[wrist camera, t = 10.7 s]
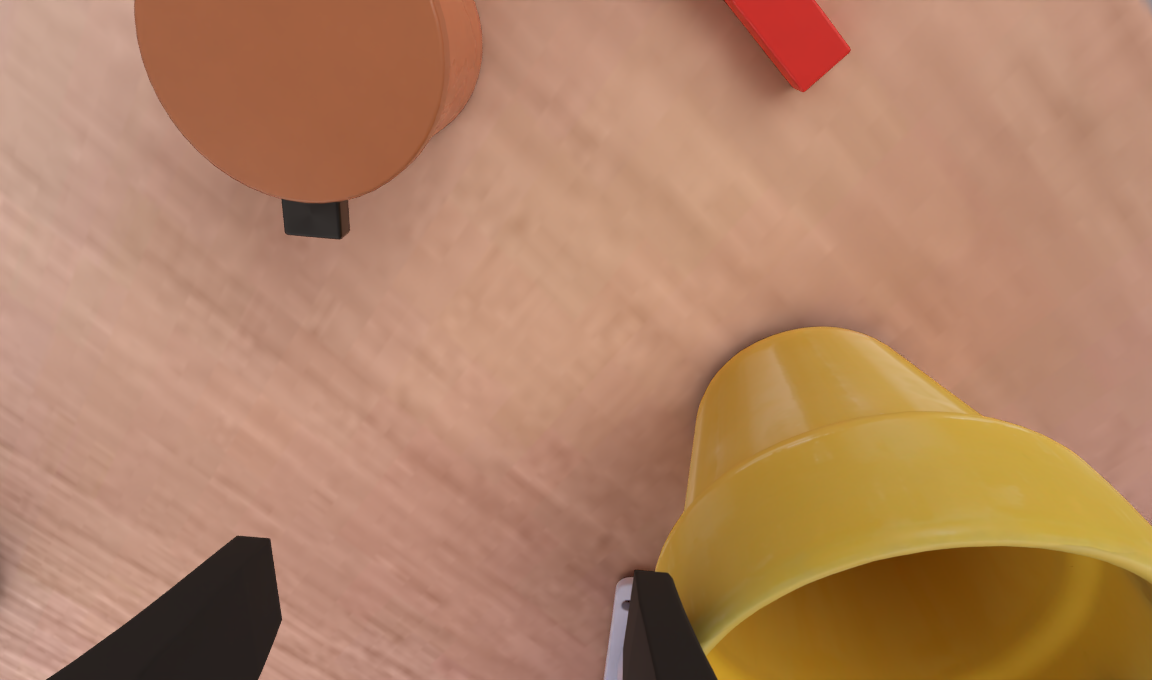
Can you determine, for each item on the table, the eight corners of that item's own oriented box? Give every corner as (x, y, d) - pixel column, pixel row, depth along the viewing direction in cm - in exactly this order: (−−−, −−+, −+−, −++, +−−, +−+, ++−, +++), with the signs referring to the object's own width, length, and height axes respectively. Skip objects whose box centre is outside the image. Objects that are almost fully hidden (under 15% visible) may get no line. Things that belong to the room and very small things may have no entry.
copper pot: (487, 189, 19) (444, 255, 14) (284, 171, 19) (169, 230, 14) (494, -120, 16) (443, -179, 11) (253, -142, 16) (90, -211, 11)
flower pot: (732, 581, 25) (804, 905, 17) (568, 382, 21) (552, 677, 13) (1022, 456, 22) (1289, 774, 14) (895, 195, 18) (1165, 418, 10)
